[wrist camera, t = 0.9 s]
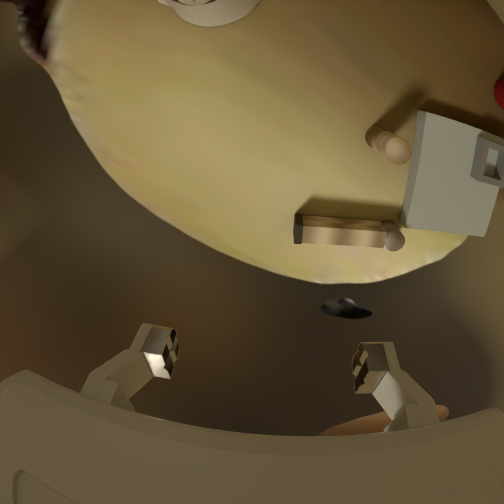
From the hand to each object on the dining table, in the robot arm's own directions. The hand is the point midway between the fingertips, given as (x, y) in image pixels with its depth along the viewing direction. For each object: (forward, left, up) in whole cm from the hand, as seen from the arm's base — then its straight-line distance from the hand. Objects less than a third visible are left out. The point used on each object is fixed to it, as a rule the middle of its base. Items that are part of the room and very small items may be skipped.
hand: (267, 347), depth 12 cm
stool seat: (0, +32, -36) cm, 48 cm away
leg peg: (-4, +15, -36) cm, 40 cm away
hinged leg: (+12, +12, -36) cm, 40 cm away
